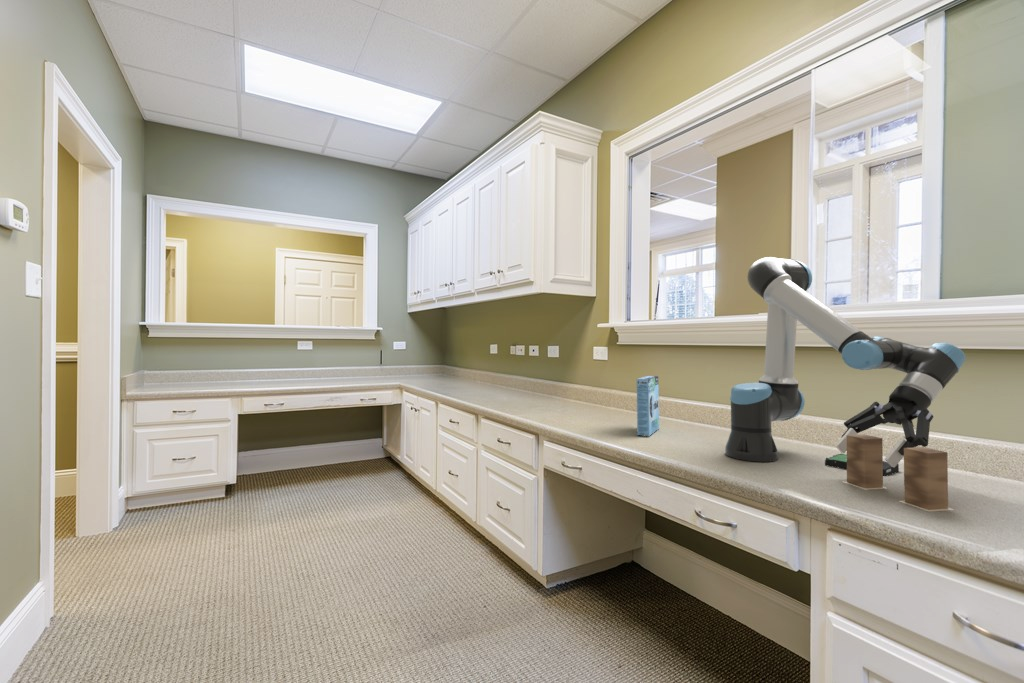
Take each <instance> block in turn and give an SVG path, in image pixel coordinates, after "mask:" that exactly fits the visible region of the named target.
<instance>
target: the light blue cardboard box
mask: <svg viewBox="0 0 1024 683" xmlns="http://www.w3.org/2000/svg"><path fill="white" fill-rule="evenodd" d="M659 392H660V390H659V376H658V375H646V376H641V377H639V378H636V416H637V417H636V419H637V420H636V423H637V424H636V425H637V428H636V429H637V432H636V433H637V434H636V435H645V436H649V437H651V436H652V435H653V434H655V433H656V432H657V431H658V430H657V429H659V430H660V404H659V403H660V401H659V400H660V398H659V397H660V396H659ZM656 430H657V431H656ZM655 431H656V432H655ZM654 432H655V433H654ZM652 433H653V434H652ZM651 434H652V435H651ZM650 435H651V436H650Z"/></svg>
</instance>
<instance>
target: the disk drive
mask: <svg viewBox="0 0 1024 683" xmlns="http://www.w3.org/2000/svg"><path fill="white" fill-rule="evenodd" d="M824 465H825V466H827V465H828V467H832V466H833V468H837V467H839V468H838V469H842V468H844V469H843V470H847V454H845V453H837V454H834V455H832V456H830V457H826V458H825V459H824ZM899 466H900V465H899V463H898V464H897V465H896V467H895V468H894V467H891V466H890V465H889V464H888V462H887V461H886V460H883V477H888V476H890V475H889V474H891V475H893V474H896V473H898V472H897V471H900V470H899V469H900V468H899ZM895 472H896V473H895ZM892 473H893V474H892ZM887 475H888V476H887Z"/></svg>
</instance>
